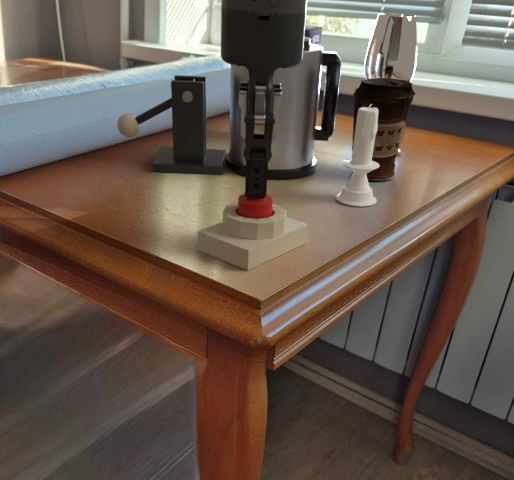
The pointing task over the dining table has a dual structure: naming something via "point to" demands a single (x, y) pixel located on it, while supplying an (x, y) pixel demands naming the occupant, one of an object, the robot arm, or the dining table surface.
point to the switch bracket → (189, 132)
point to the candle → (361, 160)
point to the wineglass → (392, 48)
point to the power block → (251, 237)
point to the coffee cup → (385, 119)
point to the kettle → (291, 114)
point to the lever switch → (140, 118)
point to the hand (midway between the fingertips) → (255, 196)
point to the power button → (255, 207)
